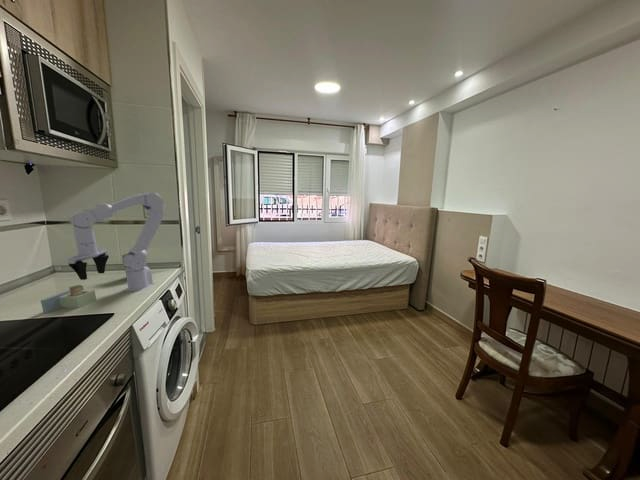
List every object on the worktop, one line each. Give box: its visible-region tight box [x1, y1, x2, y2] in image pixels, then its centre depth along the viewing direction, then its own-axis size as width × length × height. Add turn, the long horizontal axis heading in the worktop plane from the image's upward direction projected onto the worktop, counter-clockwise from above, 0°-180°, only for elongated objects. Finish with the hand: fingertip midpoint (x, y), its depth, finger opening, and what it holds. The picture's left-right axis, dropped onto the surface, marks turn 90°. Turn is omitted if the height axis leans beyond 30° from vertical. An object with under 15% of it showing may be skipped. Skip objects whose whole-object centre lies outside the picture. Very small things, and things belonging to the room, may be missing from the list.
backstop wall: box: [40, 285, 85, 314], centre depth 98 cm, size 14×2×5 cm, turn 176°
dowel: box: [68, 284, 83, 296], centre depth 99 cm, size 3×3×7 cm
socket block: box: [59, 289, 97, 309], centre depth 99 cm, size 7×7×4 cm
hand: (92, 276), depth 102 cm, fingers open, 7 cm apart
